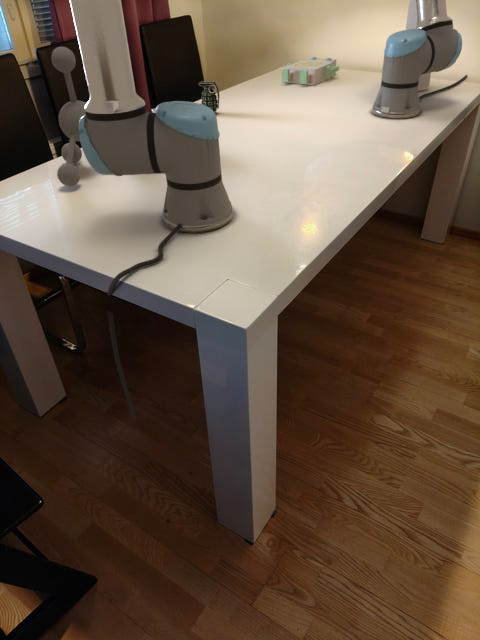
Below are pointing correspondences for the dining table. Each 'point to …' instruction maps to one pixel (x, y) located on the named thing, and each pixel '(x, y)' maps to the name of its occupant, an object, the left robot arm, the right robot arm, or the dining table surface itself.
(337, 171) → the dining table surface
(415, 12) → the electronic device
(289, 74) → the decorative block
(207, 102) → the grenade
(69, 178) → the molecular model
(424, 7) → the right robot arm
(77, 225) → the dining table surface
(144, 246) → the dining table surface
